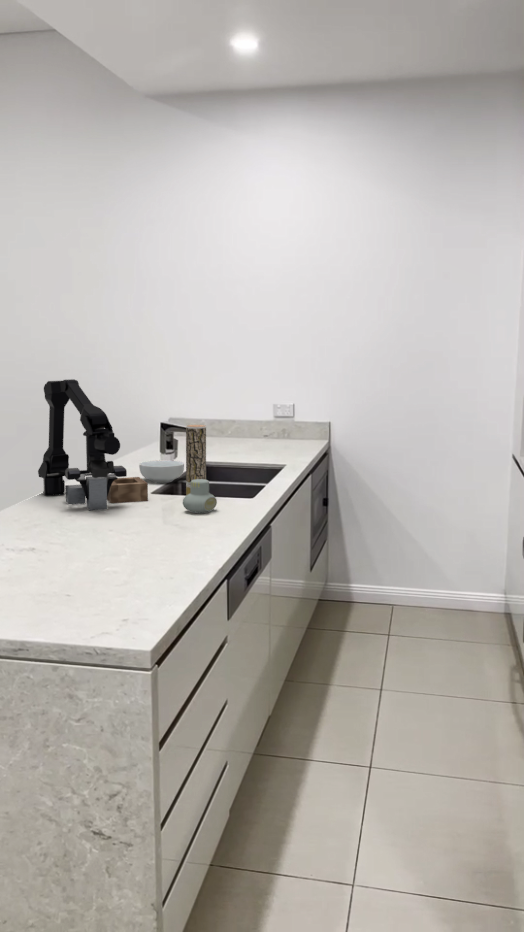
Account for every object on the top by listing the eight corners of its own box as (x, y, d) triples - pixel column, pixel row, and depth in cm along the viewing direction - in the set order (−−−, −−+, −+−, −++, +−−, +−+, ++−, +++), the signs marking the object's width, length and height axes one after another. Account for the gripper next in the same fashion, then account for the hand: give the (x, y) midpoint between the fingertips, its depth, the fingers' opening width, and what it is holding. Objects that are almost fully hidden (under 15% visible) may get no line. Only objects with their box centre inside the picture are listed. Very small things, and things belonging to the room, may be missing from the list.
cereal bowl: (188, 477, 315) (188, 460, 314) (179, 486, 299) (179, 467, 297) (145, 476, 317) (145, 458, 315) (134, 484, 300) (134, 465, 299)
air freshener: (199, 506, 264) (199, 476, 263) (220, 509, 260) (220, 479, 258) (179, 513, 255) (178, 482, 253) (200, 516, 251) (200, 484, 249)
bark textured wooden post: (202, 500, 274) (203, 427, 270) (183, 499, 275) (183, 426, 271) (208, 496, 280) (208, 425, 276) (189, 495, 282) (189, 424, 277)
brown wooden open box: (110, 503, 268) (110, 485, 266) (103, 495, 279) (103, 478, 278) (147, 500, 272) (147, 483, 271) (139, 493, 284) (139, 476, 283)
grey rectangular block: (89, 510, 256) (88, 479, 255) (86, 507, 262) (85, 476, 260) (107, 509, 259) (106, 478, 257) (103, 505, 264) (103, 475, 262)
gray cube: (68, 504, 265) (67, 488, 264) (65, 501, 270) (65, 485, 269) (85, 503, 267) (85, 487, 266) (82, 500, 272) (82, 484, 271)
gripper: (69, 456, 246) (71, 506, 249) (130, 453, 253) (130, 502, 256) (64, 450, 256) (65, 499, 259) (122, 448, 263) (123, 495, 266)
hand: (96, 498), depth 260 cm, fingers closed on grey rectangular block, 6 cm apart
